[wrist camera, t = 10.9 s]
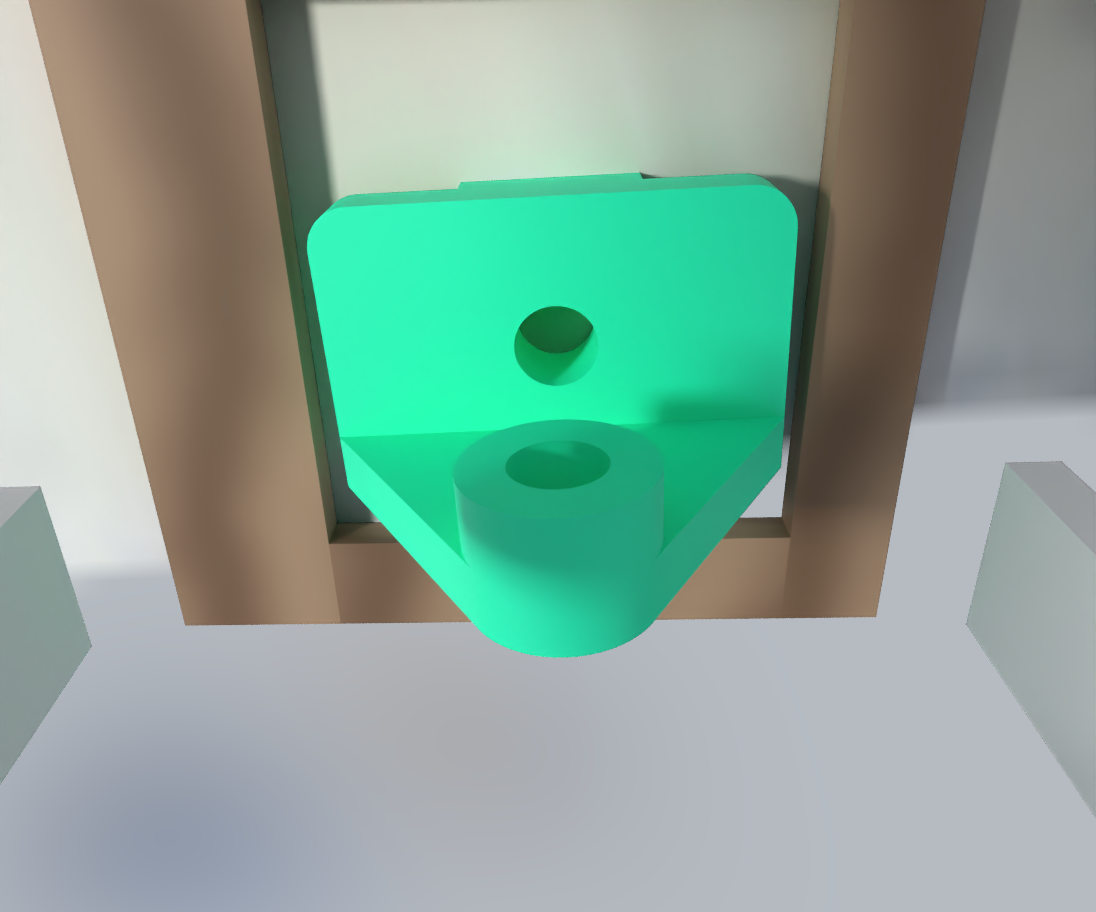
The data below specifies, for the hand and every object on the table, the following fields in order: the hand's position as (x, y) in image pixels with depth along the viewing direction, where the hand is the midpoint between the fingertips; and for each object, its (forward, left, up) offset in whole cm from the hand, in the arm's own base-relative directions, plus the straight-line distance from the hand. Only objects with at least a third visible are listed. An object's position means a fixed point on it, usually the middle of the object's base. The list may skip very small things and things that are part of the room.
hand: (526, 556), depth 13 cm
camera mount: (0, -1, -14) cm, 14 cm away
